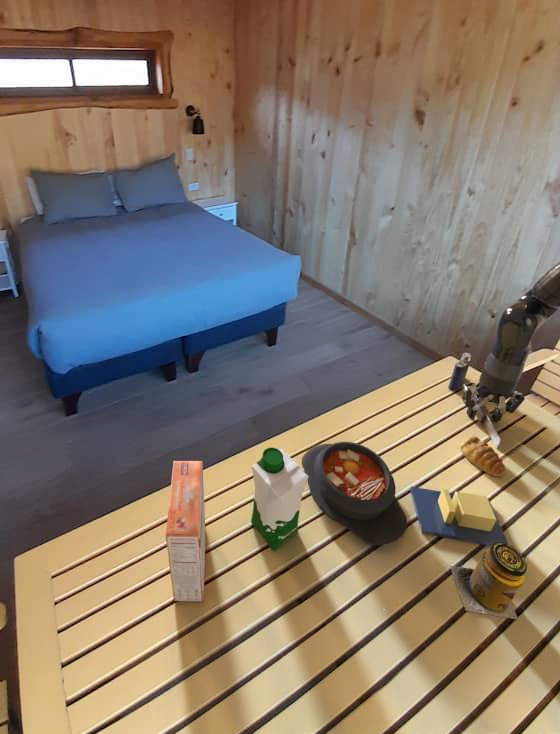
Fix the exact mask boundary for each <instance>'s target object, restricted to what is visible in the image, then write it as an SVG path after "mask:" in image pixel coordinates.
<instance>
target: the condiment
mask: <svg viewBox="0 0 560 734" xmlns="http://www.w3.org/2000/svg"><path fill="white" fill-rule="evenodd" d="M449 568H450V570H451V573H452V576H453V579H454V582H455V585H456V588H457V591H458V595H459V596H460V599H461V602H462V604H463V605H462V606H463V607H464V610H465V611H466V612H471V613H472V612H473V613H478V614H485V615H490V616H493V617H501V618H506V619H513V620H519V618H518V615H517V613H516V611H515V609H514V607H513V605H512V603H511V602H512V601H513V600H514V598H515V596H516V595H517V594H518V591H519V590H520V588H521V587H522V586H523V584H524V582H525V575H526V573H527V570H528V564H527V562H526V559H525V557H524V555H523V554H522V553H521V552H520V551H519V550H518V549H517V548H515V547H514V546H513V545H511V544H510V543H508V544H507V543H505V542H499V541H498V542H494V543H492V545H490V546H488V548H486V549H484V551H483V552H482V554H481V556H480V558H479V560H478V562H477V563H476V566H475V567H474V568H470V567H464V566H463V567H462V566H457V565H451V564H450V565H449Z"/></svg>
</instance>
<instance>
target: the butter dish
mask: <svg viewBox="0 0 560 734" xmlns="http://www.w3.org/2000/svg"><path fill="white" fill-rule="evenodd" d="M409 491H410V495H411V498H412V502H413V506H414V510H415V514H416V517H417V522H418V524H419V528H421V529H420V532H421V534H424V533H426V534H425V535H429V534H430V535H429V536H435V537H440V538H446V539H450V538H451V540H455V541H462V542H466V543H472V544H476V545H481V546H486V547H487V546H488V547H490V545H492V543H494V542H498V541H499V542H505V543H507V544H509V542H508V539H507V537H506V534H505V532H504V530H503V528H502V526H501V523H500V521H499V519H498V516H497V515H496V512H495V510H494V507H493V506H492V502H491V501H490V499H488V497H487V496H485V495H480V494H475V493H468V492H463V491H456V490H455V491H454V493H451V492H449V494H450V497H451V500H452V503H453V505H454V508H455V511H456V514H455V516H454V518H453V520H452V523H451V524H448V523H445V522H444V519H443V515H442V512H441V509H440V506H439V503H438V499H439V496H440V494H441V491H440V490H435V489H428V488H422V487H417V486H410V488H409Z"/></svg>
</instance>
